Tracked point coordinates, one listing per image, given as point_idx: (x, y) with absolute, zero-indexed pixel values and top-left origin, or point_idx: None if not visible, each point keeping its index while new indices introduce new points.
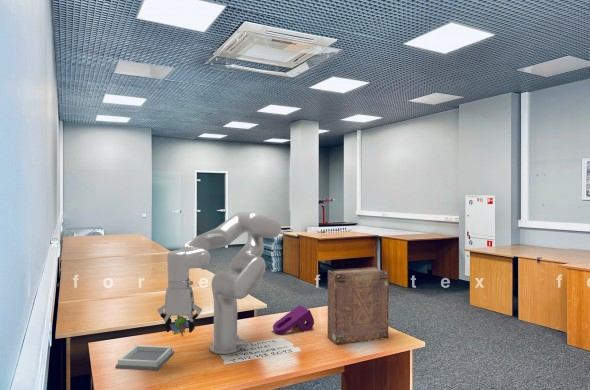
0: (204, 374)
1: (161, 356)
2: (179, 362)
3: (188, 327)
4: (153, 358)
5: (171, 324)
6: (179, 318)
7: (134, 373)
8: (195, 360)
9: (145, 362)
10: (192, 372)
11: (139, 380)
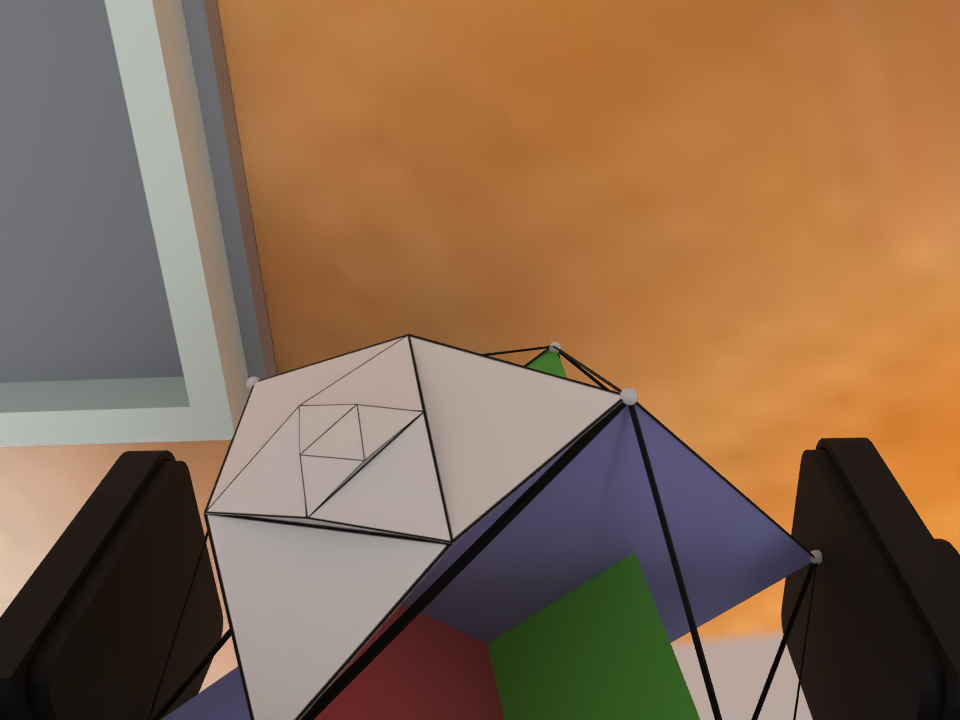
0: (898, 425)
1: (183, 267)
2: (445, 144)
3: (778, 651)
4: (32, 172)
5: (211, 715)
6: (296, 511)
7: (65, 503)
8: (664, 34)
9: (74, 436)
10: (733, 398)
11: (226, 622)
